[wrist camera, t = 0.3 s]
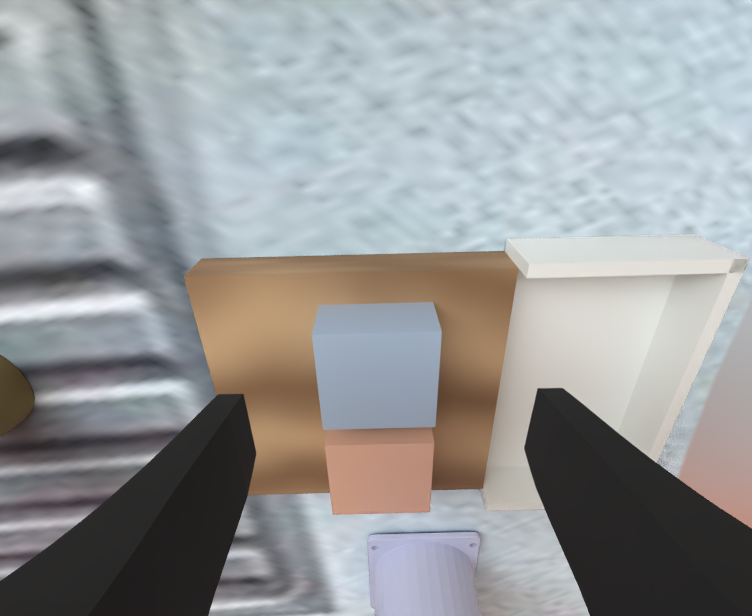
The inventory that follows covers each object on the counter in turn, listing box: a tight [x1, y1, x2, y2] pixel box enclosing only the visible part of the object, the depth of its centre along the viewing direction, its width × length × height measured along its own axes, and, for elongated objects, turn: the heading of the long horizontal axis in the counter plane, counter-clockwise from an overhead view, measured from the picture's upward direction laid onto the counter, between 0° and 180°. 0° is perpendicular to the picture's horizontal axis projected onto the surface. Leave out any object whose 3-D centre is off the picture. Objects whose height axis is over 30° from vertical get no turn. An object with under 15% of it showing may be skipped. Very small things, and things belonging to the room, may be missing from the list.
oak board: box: [184, 251, 519, 495], centre depth 21 cm, size 14×14×2 cm
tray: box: [480, 234, 749, 511], centre depth 21 cm, size 15×9×3 cm, turn 1°
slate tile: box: [312, 302, 442, 430], centre depth 18 cm, size 5×5×2 cm
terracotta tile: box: [325, 427, 434, 515], centre depth 21 cm, size 5×5×2 cm
